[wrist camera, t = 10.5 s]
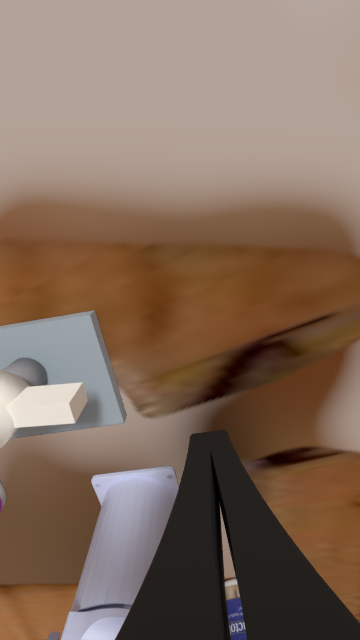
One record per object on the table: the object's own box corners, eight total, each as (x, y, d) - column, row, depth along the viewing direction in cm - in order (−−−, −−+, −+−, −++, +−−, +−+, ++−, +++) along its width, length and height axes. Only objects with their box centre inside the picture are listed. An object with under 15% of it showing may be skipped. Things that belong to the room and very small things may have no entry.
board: (126, 414, 21) (106, 481, 15) (-4, 432, 22) (-68, 502, 16) (94, 310, 18) (54, 346, 12) (-57, 335, 19) (-160, 380, 13)
